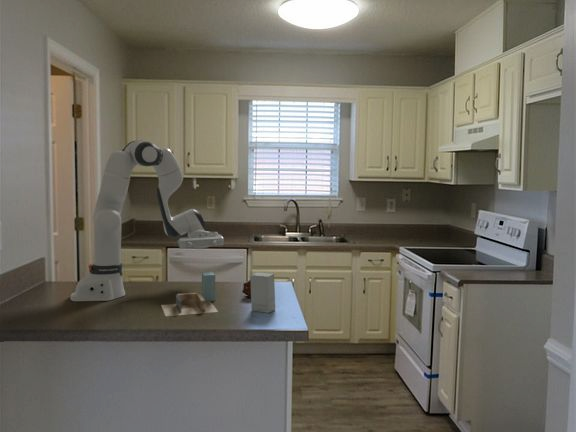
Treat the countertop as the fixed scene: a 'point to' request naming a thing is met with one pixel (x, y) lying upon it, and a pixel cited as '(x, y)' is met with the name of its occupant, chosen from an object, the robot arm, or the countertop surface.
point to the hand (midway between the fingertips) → (203, 245)
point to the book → (208, 286)
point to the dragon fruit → (247, 288)
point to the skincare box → (262, 292)
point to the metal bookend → (178, 303)
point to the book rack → (189, 305)
